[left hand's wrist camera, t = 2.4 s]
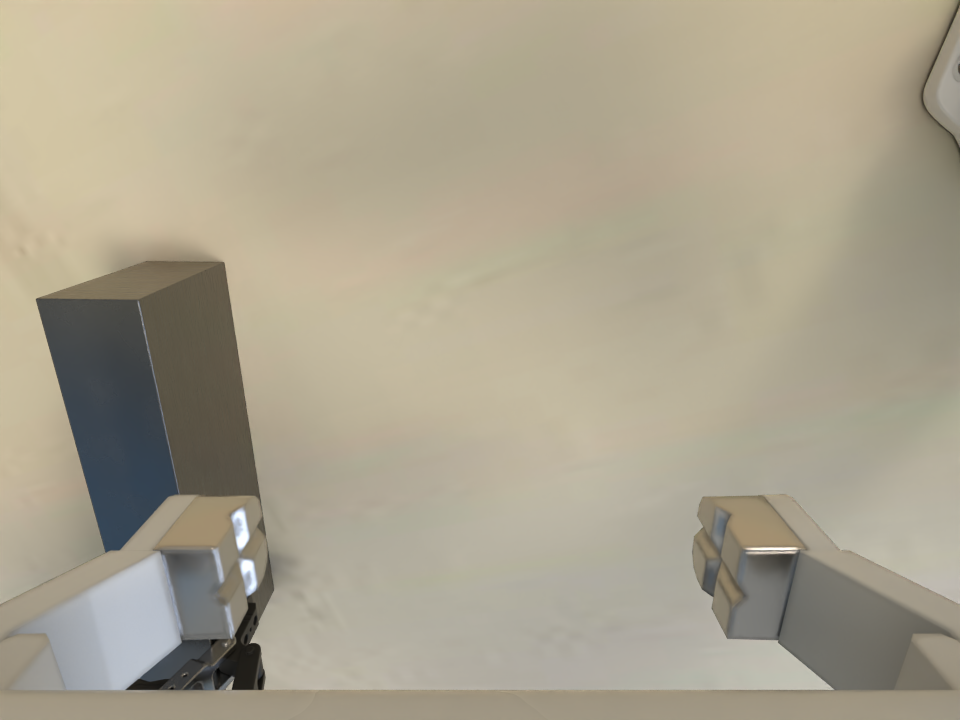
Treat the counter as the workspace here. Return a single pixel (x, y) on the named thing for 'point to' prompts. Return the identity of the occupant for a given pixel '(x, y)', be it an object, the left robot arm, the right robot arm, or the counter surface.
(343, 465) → the counter surface
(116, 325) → the bar
